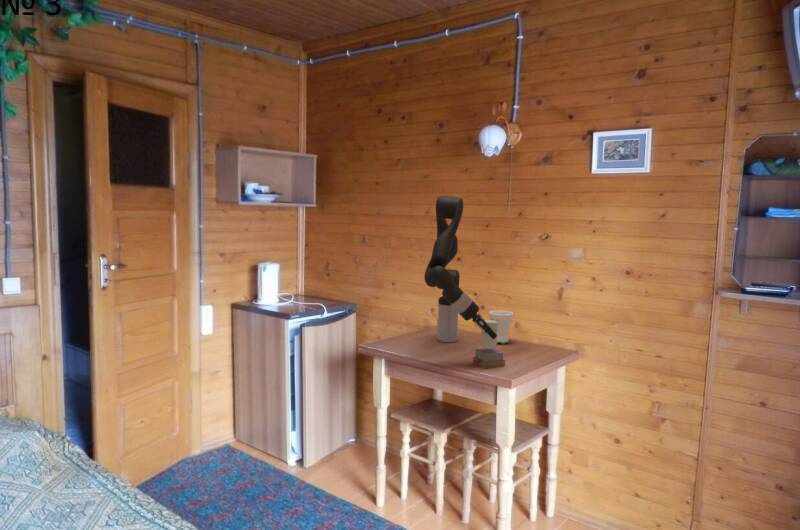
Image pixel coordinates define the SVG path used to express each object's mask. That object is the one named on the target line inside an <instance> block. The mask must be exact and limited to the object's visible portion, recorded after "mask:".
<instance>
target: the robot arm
mask: <svg viewBox="0 0 800 530" xmlns="http://www.w3.org/2000/svg"><path fill="white" fill-rule="evenodd" d="M463 212H464V200H463V198H461V197H456V196H450V195H449V196H448V195H439V196H438V197H437V199H436V201H435V219H436V240H435V241H434V244H433V246H432V247H433V248H432V252H431V258H430V260H429V262H428V264H427V266H426V268H425V272H424V275H423V276H424V283H425V284H426V285H427V286H429V287H430V288H435V287H436V288H437V289H439V290H442V292H441V294H442V296H440V297H438V299H437V301H438V304H437V305H438V307H437V308H438V309H437V319H436V339H437V341H439V342H443V343H454V342H457V341H458V332H459V331H458V328H459V322H458V321H459V315H460V317H461V318H463V320H464V321H470V320H471V322H473V324H474V325H476V326H477V327H478V328H479V329H480V330H482V329H483V330H484V331H485V332H486V333H488V335H489V336H490V337H491V338H492V339H495V338H496V337H497V335H496V334H495V333H494V332H493V331H492V330H491V327H489V326H488V325H487V324H488V323H487V322H486V321H485V320H486V319H484V318H483V316H482V315H481V314H480V313H478V312H479V311H480V307H479V305H478V304H477V303H476V302H475V301H474V300H473V299H472V298H471V297H470V296H469V295H468V294H466V293H465V292H464V291H463V290H462V288H461V287H460V280H461V279H460V276H461V275H460V272H459V270H457V269H447V268H446V267H447V266H448V264H450V262H452V260H453V259H454V258H455V257H456V256H457V254H458V247H459V246H458V244H459V242H458V236H457V235H456V234H457V231H458V228H459V225H460V223H461V219H462V216H463ZM447 219H448V220H451V222H450V224H449V223H448V222H447ZM486 327H488V328H487V329H486V330H485V328H486Z"/></svg>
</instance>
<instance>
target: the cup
mask: <svg viewBox="0 0 800 530" xmlns="http://www.w3.org/2000/svg"><path fill="white" fill-rule="evenodd" d="M488 318H489V320H494V321H496V322H497V342H496V345H498V344H499V343H500V344H501V345H505V344H509V341H510V337H509V333H510V332H509V331H510V327H511V323H512V321H513V319H514V312H513V311H510V310H500V309H499V310H498V309H496V310H495V309H494V310H490V311H488Z"/></svg>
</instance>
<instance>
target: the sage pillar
mask: <svg viewBox="0 0 800 530" xmlns="http://www.w3.org/2000/svg"><path fill="white" fill-rule="evenodd" d="M484 320H485V321H486V322H487V323H488V324H487V325H488V326H489V327H491V330H492V331H493V332H494V333H495V334H496V335H497V322H496V321H494V320H490V319H488V320H487V319H484ZM487 328H488V327H486V328H485V330H486V329H487ZM480 330H481V333H480V334H481V337H480V345H481V347H483V349H486V348H494V349H497V344H496V342H497V337H496V338H495V339H492V338H491V337H490V336H489V335H488V333H486V332H485V331H484V330H483V329H480Z"/></svg>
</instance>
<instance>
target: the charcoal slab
mask: <svg viewBox="0 0 800 530" xmlns="http://www.w3.org/2000/svg"><path fill="white" fill-rule="evenodd" d="M474 357H477V358H479V359H481V360H482V361H484V362H489V361H500V360H503V359H504V352H503V351H500V350H498V349H497V348H476V349H475V355H474Z"/></svg>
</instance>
